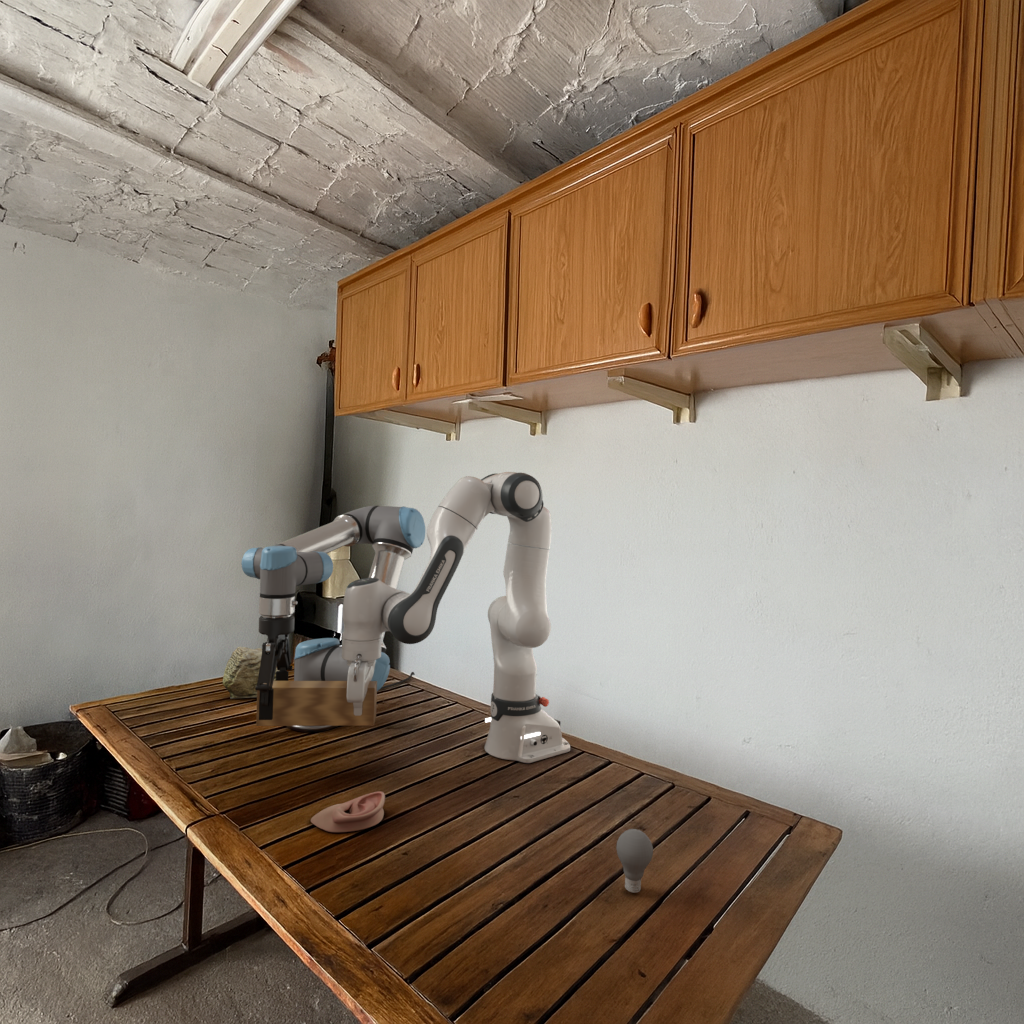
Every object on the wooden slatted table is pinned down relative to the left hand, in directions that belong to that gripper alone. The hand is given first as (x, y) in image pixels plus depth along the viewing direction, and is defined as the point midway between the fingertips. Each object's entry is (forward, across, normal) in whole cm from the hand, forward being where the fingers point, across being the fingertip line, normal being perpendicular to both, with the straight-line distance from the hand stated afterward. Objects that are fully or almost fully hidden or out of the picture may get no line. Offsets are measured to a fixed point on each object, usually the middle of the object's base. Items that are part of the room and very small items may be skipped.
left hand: (273, 708), depth 143 cm
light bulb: (+15, -46, -70) cm, 85 cm away
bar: (+3, 0, -10) cm, 10 cm away
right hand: (0, 0, -19) cm, 19 cm away
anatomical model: (+15, -21, -20) cm, 32 cm away
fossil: (+15, +57, +20) cm, 63 cm away
